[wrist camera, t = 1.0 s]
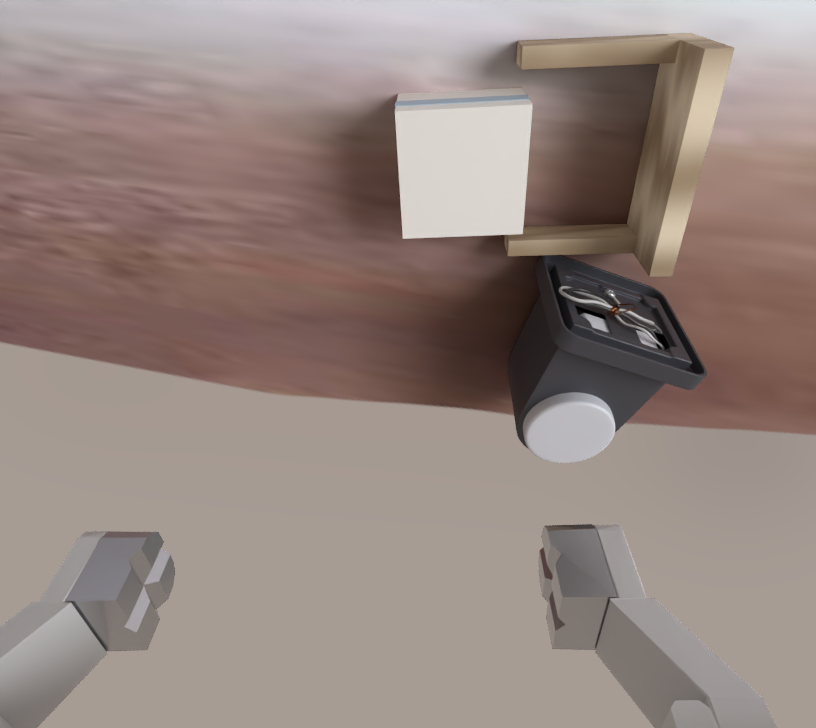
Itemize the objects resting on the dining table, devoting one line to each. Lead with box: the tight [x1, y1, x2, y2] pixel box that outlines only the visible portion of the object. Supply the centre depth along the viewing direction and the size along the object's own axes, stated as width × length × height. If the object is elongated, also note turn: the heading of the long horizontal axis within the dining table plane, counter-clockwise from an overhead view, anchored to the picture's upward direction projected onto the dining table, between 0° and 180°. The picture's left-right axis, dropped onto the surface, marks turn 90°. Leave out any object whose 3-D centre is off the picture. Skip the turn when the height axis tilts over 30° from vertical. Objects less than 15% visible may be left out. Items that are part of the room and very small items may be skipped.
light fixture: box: [508, 255, 707, 463], centre depth 43 cm, size 11×13×11 cm
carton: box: [395, 87, 533, 239], centre depth 37 cm, size 8×8×5 cm
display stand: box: [504, 33, 734, 277], centre depth 36 cm, size 13×10×6 cm
